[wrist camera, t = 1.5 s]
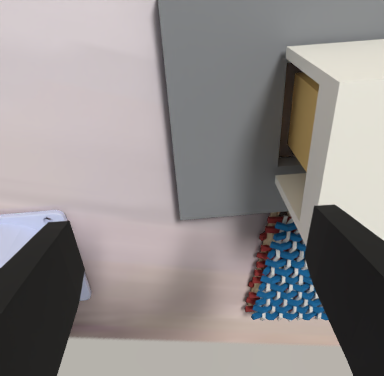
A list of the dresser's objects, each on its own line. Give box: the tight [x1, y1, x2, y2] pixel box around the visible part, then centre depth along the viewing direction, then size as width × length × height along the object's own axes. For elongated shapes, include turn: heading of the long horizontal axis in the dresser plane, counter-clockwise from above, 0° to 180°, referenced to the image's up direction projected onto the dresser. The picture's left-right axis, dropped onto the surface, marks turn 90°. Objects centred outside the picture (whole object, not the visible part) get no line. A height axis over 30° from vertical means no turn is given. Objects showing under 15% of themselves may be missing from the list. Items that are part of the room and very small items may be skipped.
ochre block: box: [288, 72, 319, 173], centre depth 16 cm, size 4×4×5 cm
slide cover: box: [275, 39, 384, 245], centre depth 15 cm, size 6×7×6 cm
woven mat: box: [245, 211, 328, 321], centre depth 24 cm, size 10×11×2 cm
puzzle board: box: [158, 0, 384, 220], centre depth 18 cm, size 18×12×1 cm, turn 93°
